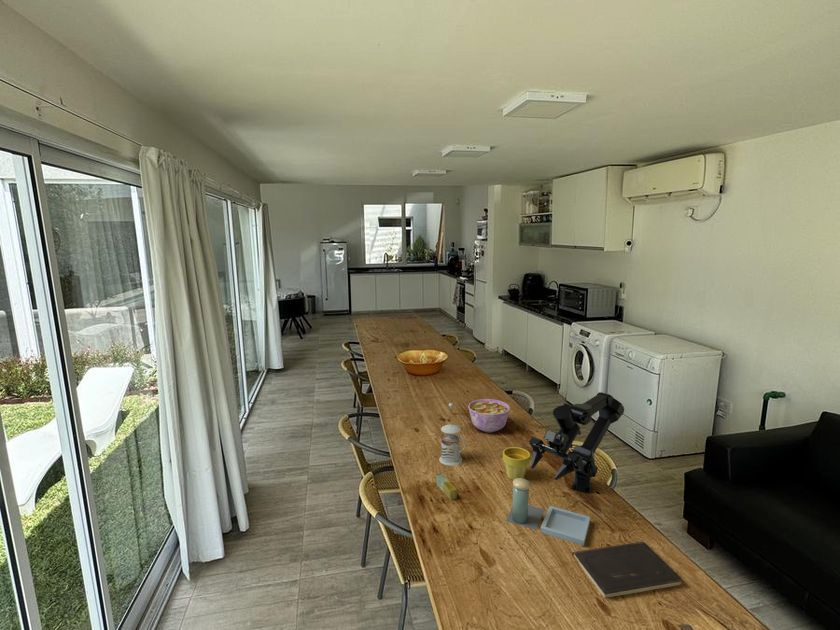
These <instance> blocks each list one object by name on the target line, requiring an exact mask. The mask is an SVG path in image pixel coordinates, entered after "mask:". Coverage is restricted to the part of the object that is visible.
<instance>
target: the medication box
mask: <svg viewBox="0 0 840 630" xmlns="http://www.w3.org/2000/svg"><path fill="white" fill-rule="evenodd" d="M435 483H436V486H438V487H439V488H440V489H441V491H442V492H443V494H445V495H446V497H447V498H448V499H449V500H450V501H453V500H456V499H457V498H458V496H457V495H458V494H457V493H458V491H457V488H456V487H455V486H454V484H452V483H451V482H450V480H449V479H448V478H447V477H446V476H445V475H444V474H443V473H437V474H435Z"/></svg>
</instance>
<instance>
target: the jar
mask: <svg viewBox="0 0 840 630" xmlns="http://www.w3.org/2000/svg"><path fill="white" fill-rule="evenodd" d="M529 495H530V481H529V480H527V479H525V478H516V479H514V480H512V508H513V509H512V508H511V510H512V519H513V521H514V522H516V523H518V524H525V523H527V521H528V505H529V498H530V497H529Z"/></svg>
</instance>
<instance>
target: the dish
mask: <svg viewBox="0 0 840 630" xmlns="http://www.w3.org/2000/svg"><path fill="white" fill-rule="evenodd" d="M590 523H591V516H588V515H585V514H581V513H579V512H578V513H577V512H574V511H570V510H567V509H563V508H559V507H556V506H552V505H549V506H548V509H547V511H546V514H545V516H544V519H543V521H542V523H541V526H540V531H539V532H540V533H541V534H544V535H547V536H551V537H553V538H557V539H561V540H564V541H568V542H570V543H573V544H576V545H580V546H581V547H583V548H584V547H585V544H586V539H587V535H588V533H589V527H590Z"/></svg>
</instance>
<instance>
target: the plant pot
mask: <svg viewBox="0 0 840 630" xmlns="http://www.w3.org/2000/svg"><path fill="white" fill-rule="evenodd" d="M502 461H503V463H504V466H505V472H506V477H507V478H508V479H510V480H512V481H513V480H514V479H516V478H523V479H525V476H526V471H527V468H528V466H529V464H531V453H530V452H529V451H528V450H527V449H525V448H523V447H517V446H511V447H506V448H505V449H503V451H502Z"/></svg>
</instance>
